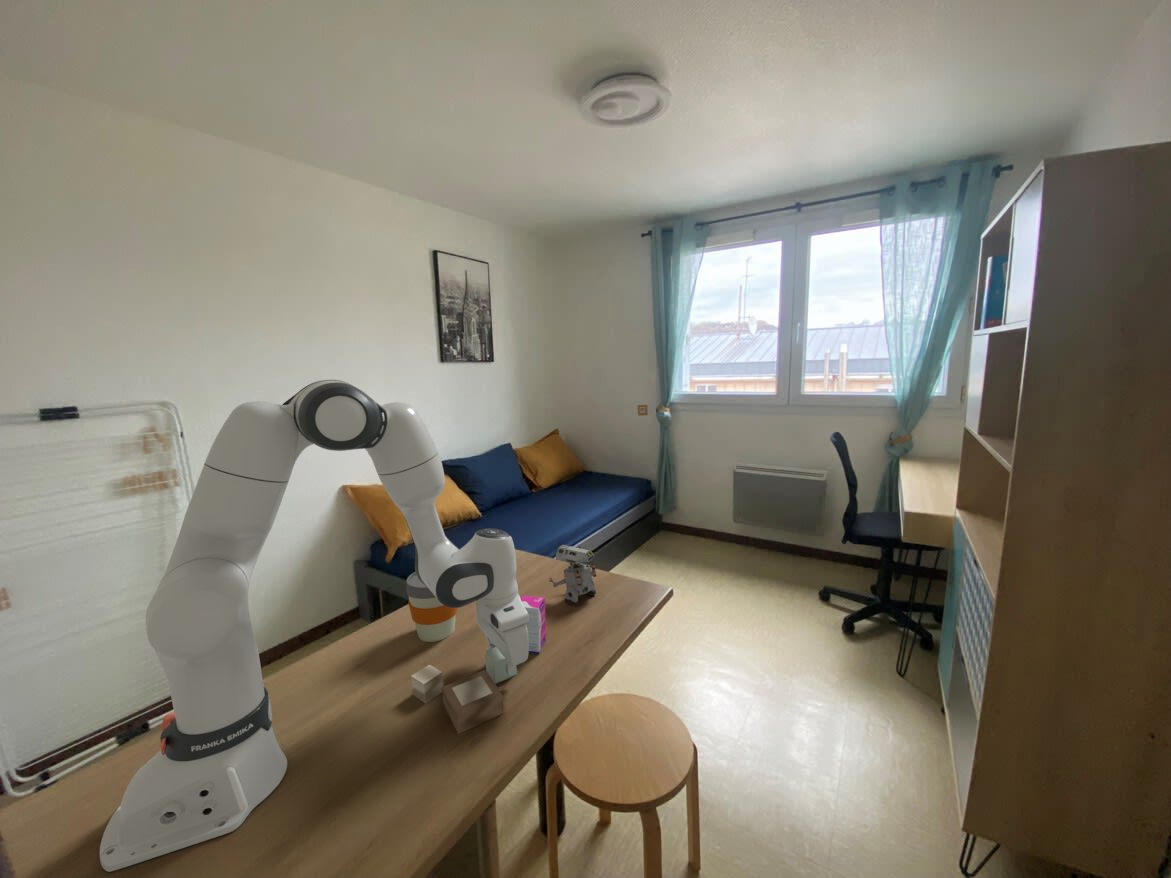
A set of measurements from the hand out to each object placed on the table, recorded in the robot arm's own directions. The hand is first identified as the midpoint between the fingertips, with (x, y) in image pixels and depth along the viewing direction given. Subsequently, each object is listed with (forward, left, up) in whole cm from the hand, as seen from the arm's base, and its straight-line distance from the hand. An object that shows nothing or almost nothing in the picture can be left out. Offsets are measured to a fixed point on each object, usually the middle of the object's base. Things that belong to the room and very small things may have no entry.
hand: (502, 661), depth 102 cm
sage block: (0, 0, -3) cm, 3 cm away
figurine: (+31, +19, -3) cm, 36 cm away
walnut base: (-9, -7, -3) cm, 12 cm away
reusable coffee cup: (-7, +25, -3) cm, 26 cm away
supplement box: (+10, +5, -3) cm, 11 cm away
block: (-15, +3, -3) cm, 16 cm away
